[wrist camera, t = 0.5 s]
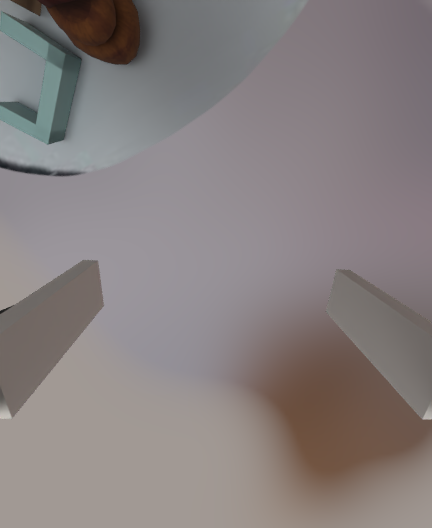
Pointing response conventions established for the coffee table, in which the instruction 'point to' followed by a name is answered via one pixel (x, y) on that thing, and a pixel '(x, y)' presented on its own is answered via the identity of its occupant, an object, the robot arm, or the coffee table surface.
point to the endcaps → (53, 88)
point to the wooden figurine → (99, 27)
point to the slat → (30, 5)
